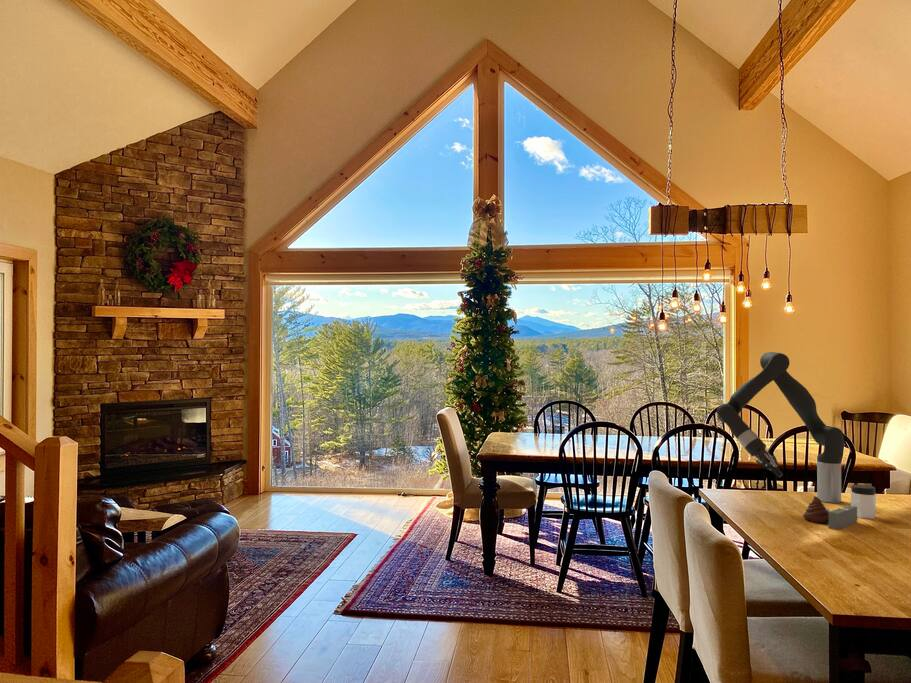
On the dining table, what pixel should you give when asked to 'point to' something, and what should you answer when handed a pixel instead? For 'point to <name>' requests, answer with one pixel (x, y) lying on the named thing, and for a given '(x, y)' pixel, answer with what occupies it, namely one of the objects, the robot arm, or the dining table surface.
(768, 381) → the robot arm
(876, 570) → the dining table surface
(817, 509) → the poop emoji
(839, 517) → the rail
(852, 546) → the dining table surface
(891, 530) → the dining table surface
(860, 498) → the jar
